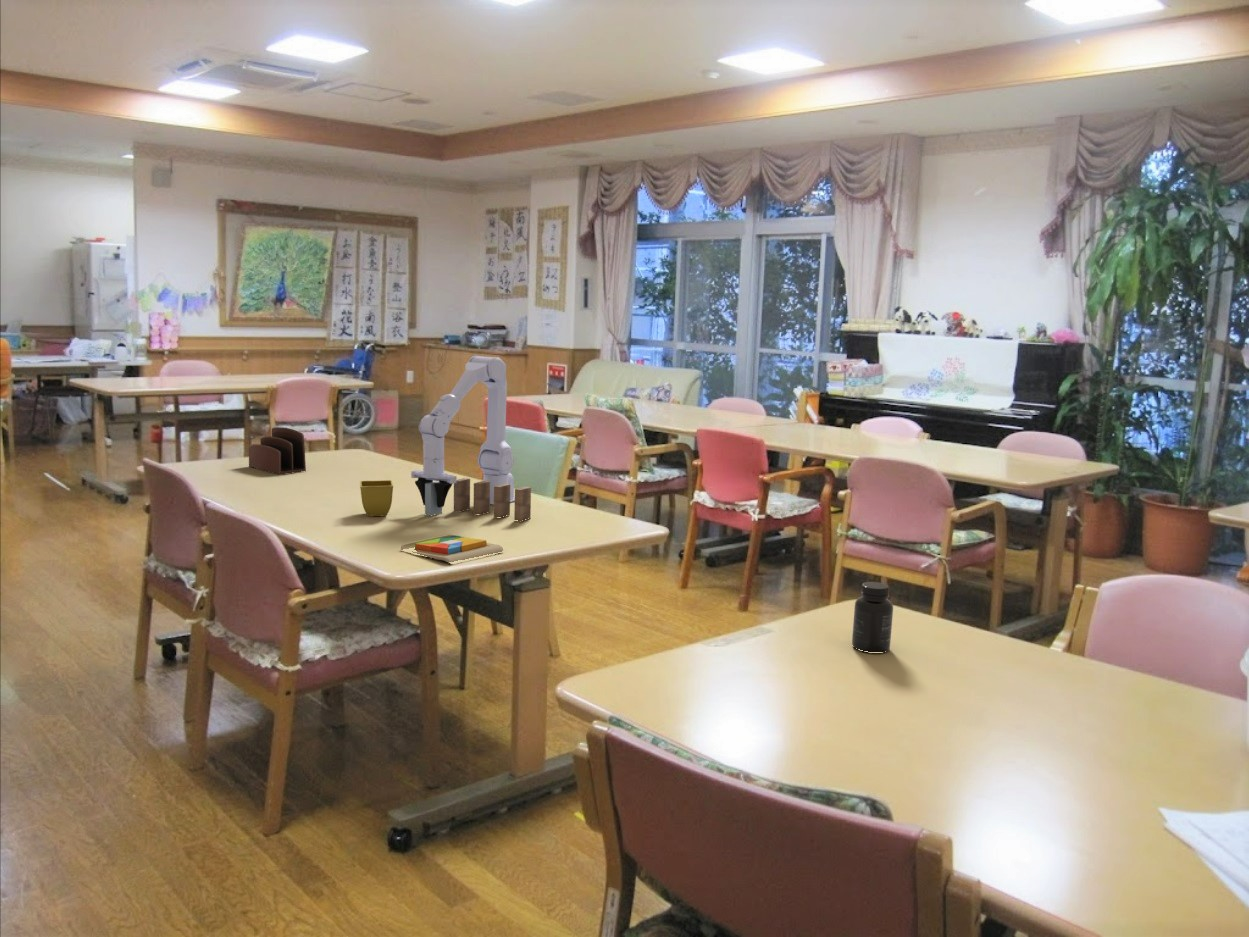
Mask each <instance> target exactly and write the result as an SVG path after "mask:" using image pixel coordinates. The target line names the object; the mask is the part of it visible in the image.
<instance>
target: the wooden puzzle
mask: <svg viewBox="0 0 1249 937" xmlns="http://www.w3.org/2000/svg"><path fill="white" fill-rule="evenodd" d="M414 547H415V549H414V550H416V551H417V552H413V551H412V552H413V553H417V554H420V555H424V556H427V557H430V558H429V559H432V558H434V559H433V560H439V561H444V562H446V563H447V562H454V561H458V560H465V559H469V558H474V557H479V556H483V555H487V554H488V555H489V554H493V553H498V552H502V551H503V552H504V548H503V546H501V545H500V544H497V543H487V540H486V539H481V538H480V539H479V538H474V537H466V536H461V535H454V534H453V533H450V534H443V535H439V536H434V537H429V538H424V539H419V540H414V541H411V542H406V543H403V544H402V545H401V546H400V551H401V550H403V549H409V548H414Z"/></svg>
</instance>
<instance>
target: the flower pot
mask: <svg viewBox="0 0 1249 937" xmlns="http://www.w3.org/2000/svg"><path fill="white" fill-rule="evenodd" d="M359 489H360V496H361V503H362V507H363V510H364V512H365V513H366V516H367V517H380V516H381V517H386V516H388V513H389V512H390V510H391V506H392V502H393V493H394V492H393V490H394V485H393V480H390V479H389V480H388V479H386V480H382V479H381V480H380V479H379V480H360V481H359Z"/></svg>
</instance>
